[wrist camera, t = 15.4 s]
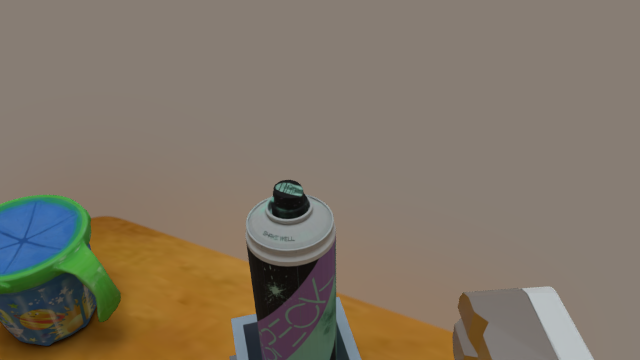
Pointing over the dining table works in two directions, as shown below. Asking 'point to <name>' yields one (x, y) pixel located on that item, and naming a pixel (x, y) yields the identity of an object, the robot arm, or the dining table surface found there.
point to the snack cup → (50, 270)
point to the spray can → (293, 274)
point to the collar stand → (249, 340)
